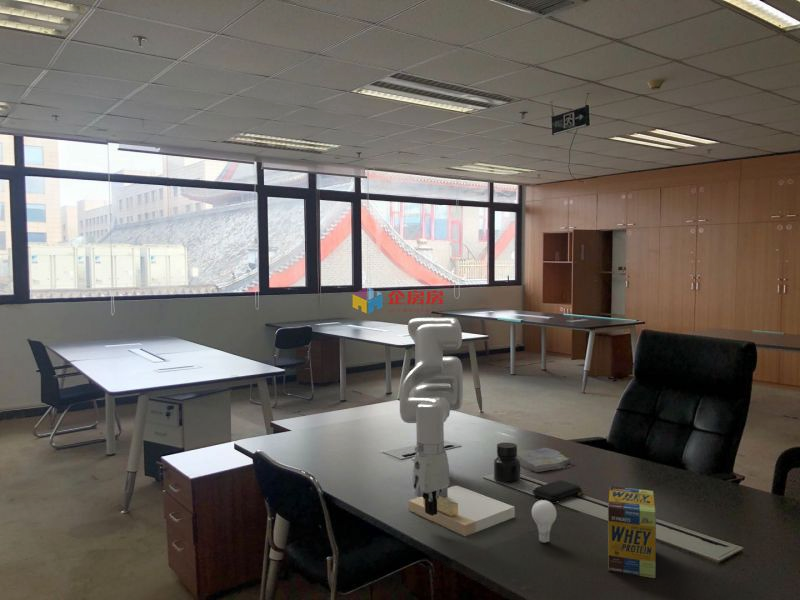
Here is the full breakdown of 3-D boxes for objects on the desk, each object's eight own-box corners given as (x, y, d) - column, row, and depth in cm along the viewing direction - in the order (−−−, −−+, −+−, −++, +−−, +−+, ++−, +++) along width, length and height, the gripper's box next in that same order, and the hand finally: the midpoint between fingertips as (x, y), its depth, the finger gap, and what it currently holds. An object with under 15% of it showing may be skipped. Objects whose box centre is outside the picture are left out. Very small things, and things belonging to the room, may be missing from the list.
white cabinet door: (408, 510, 179) (408, 488, 179) (456, 494, 192) (456, 474, 192) (465, 536, 161) (464, 512, 160) (514, 517, 173) (514, 494, 173)
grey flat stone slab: (578, 468, 220) (548, 453, 236) (579, 456, 220) (548, 442, 235) (535, 478, 212) (506, 462, 227) (535, 466, 211) (506, 450, 227)
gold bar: (421, 503, 175) (421, 493, 175) (429, 501, 177) (429, 491, 177) (450, 516, 165) (450, 506, 165) (459, 513, 167) (458, 503, 167)
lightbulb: (528, 537, 159) (528, 496, 159) (551, 536, 160) (551, 495, 159) (536, 548, 153) (535, 505, 152) (560, 547, 153) (560, 504, 153)
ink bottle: (524, 477, 207) (524, 443, 207) (518, 485, 199) (517, 450, 199) (496, 474, 211) (496, 440, 211) (489, 481, 203) (489, 447, 203)
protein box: (607, 571, 140) (607, 506, 140) (609, 544, 155) (609, 485, 154) (656, 579, 136) (656, 512, 136) (653, 550, 151) (653, 489, 150)
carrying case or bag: (556, 506, 181) (587, 496, 190) (556, 497, 181) (587, 486, 190) (530, 496, 190) (560, 487, 198) (529, 487, 190) (560, 477, 198)
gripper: (419, 456, 157) (420, 525, 157) (459, 445, 166) (459, 510, 167) (400, 450, 162) (401, 516, 163) (440, 440, 172) (441, 503, 173)
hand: (431, 513), depth 165 cm, fingers closed
